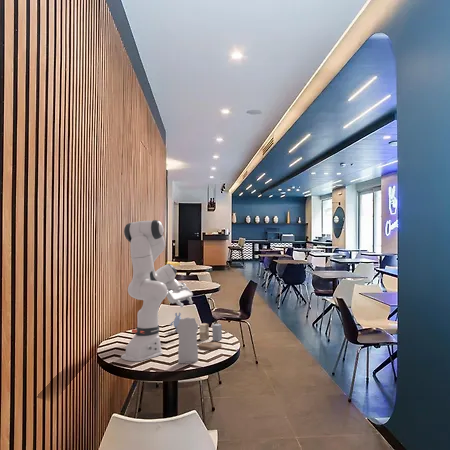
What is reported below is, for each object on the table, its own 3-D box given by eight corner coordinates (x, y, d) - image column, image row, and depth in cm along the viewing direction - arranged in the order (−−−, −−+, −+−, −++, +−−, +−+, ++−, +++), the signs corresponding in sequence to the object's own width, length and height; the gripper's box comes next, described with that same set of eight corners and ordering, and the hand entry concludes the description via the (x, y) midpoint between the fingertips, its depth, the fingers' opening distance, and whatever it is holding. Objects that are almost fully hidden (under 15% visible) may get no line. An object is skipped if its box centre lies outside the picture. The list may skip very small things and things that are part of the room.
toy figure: (185, 329, 260) (184, 311, 260) (187, 331, 254) (186, 312, 254) (169, 330, 257) (169, 312, 257) (170, 332, 251) (170, 314, 251)
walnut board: (213, 351, 208) (213, 349, 208) (193, 348, 215) (193, 346, 215) (225, 345, 219) (225, 343, 219) (206, 342, 226) (206, 340, 226)
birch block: (205, 340, 231) (204, 325, 231) (199, 339, 233) (199, 324, 233) (208, 338, 234) (208, 323, 234) (203, 337, 236) (203, 323, 236)
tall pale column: (197, 359, 195) (196, 315, 195) (199, 362, 191) (198, 317, 191) (177, 362, 192) (176, 317, 192) (178, 364, 188) (177, 319, 188)
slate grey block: (218, 341, 228) (217, 325, 228) (212, 340, 230) (212, 325, 231) (221, 339, 232) (221, 324, 232) (216, 338, 234) (215, 323, 234)
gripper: (166, 287, 236) (179, 304, 231) (186, 282, 253) (199, 298, 248) (161, 294, 238) (174, 311, 233) (181, 289, 256) (194, 305, 250)
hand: (187, 304), depth 241 cm, fingers open, 8 cm apart
